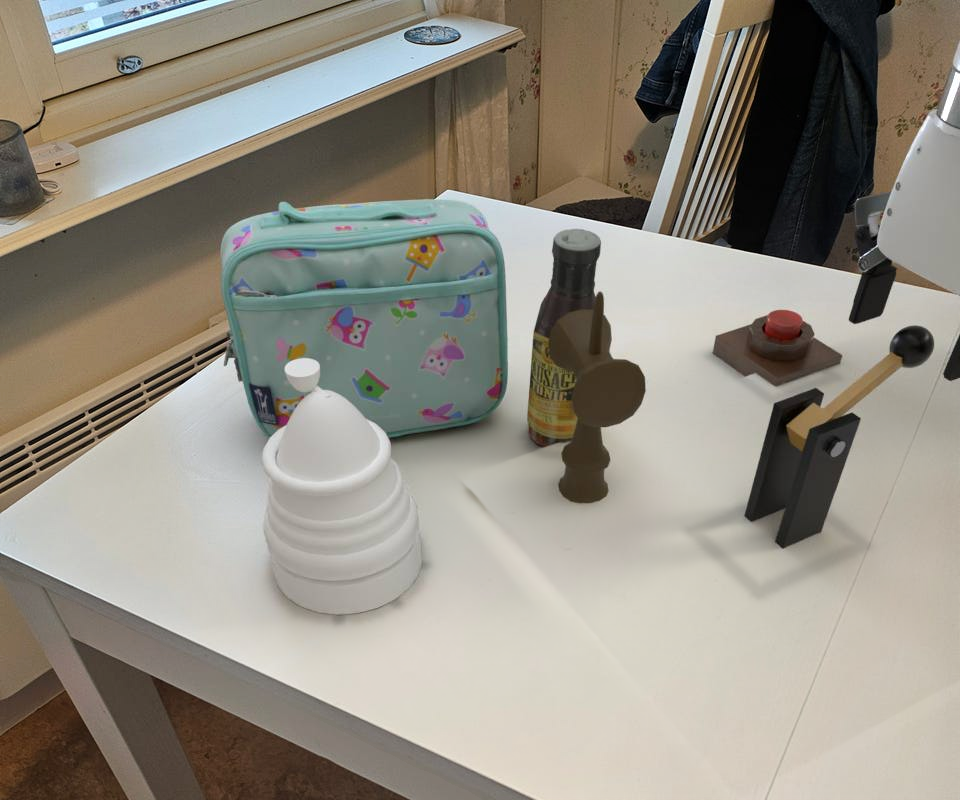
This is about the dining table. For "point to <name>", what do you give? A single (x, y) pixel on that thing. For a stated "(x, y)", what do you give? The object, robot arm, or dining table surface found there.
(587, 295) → the sauce bottle
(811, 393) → the switch bracket
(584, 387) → the kendama
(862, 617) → the dining table surface
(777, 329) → the light button
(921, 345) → the switch lever
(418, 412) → the lunch box
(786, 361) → the button block
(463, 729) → the dining table surface
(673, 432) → the dining table surface
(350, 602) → the honey pot
